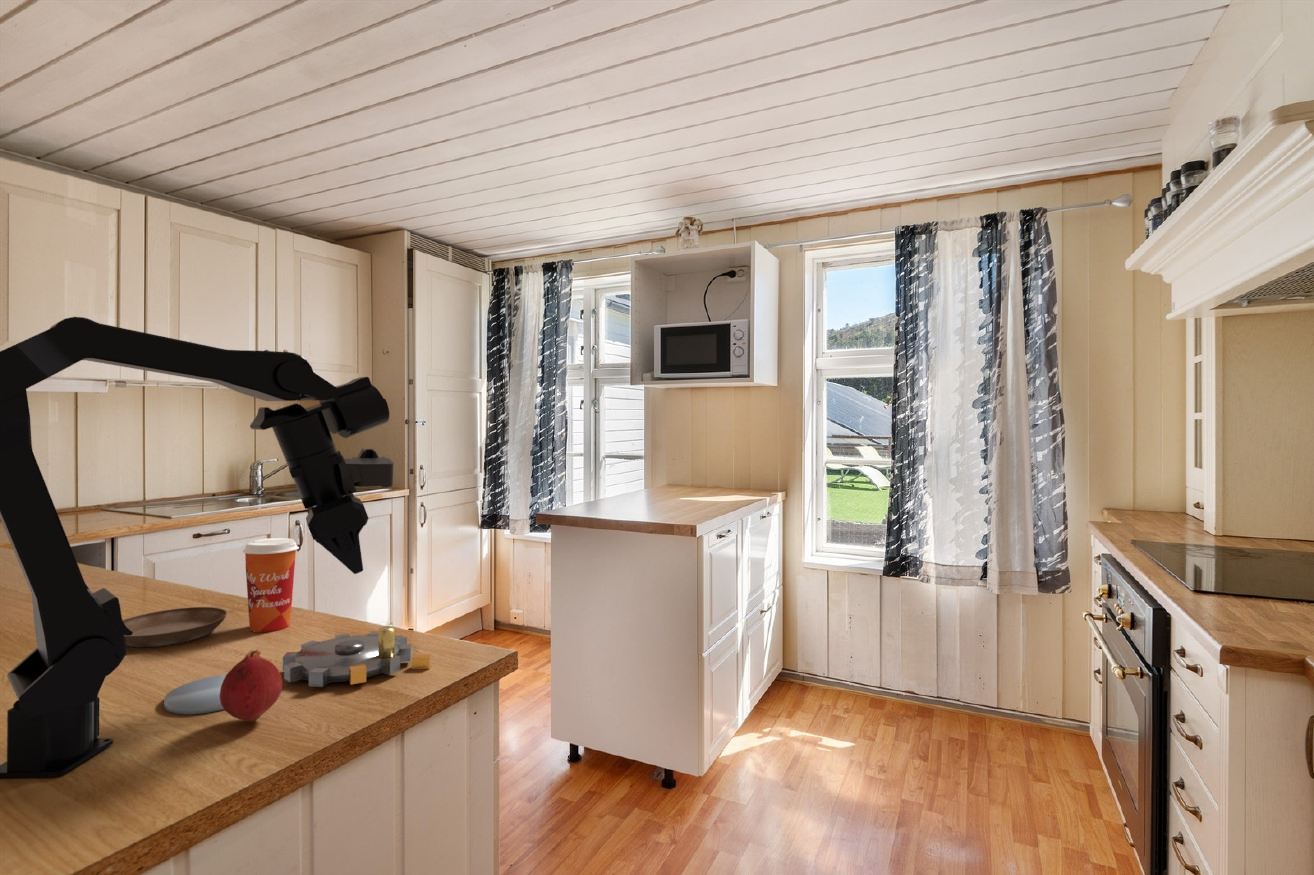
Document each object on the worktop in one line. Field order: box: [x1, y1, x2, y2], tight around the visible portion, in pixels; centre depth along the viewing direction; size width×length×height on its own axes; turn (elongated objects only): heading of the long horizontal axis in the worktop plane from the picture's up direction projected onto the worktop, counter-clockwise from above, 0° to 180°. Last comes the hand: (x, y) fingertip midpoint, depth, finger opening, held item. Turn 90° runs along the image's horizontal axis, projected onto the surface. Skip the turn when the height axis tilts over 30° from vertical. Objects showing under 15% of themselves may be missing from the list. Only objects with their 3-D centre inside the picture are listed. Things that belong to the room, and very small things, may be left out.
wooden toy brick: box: [411, 653, 433, 670], centre depth 87 cm, size 8×15×2 cm, turn 93°
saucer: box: [122, 606, 229, 648], centre depth 99 cm, size 15×15×3 cm
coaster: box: [163, 673, 227, 715], centre depth 77 cm, size 10×10×1 cm
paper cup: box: [242, 537, 300, 633], centre depth 104 cm, size 8×8×14 cm
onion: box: [220, 648, 283, 723], centre depth 71 cm, size 6×6×8 cm
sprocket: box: [282, 625, 413, 688], centre depth 87 cm, size 16×16×5 cm
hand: (354, 561), depth 84 cm, fingers open, 9 cm apart
